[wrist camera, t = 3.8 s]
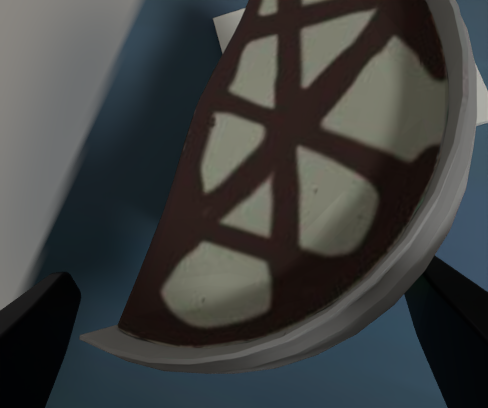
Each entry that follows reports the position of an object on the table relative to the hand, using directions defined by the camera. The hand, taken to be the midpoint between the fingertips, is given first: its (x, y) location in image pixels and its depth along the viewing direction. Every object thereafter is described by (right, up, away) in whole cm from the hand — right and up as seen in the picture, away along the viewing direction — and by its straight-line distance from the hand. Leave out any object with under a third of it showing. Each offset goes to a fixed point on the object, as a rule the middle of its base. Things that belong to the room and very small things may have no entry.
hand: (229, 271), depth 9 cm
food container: (+5, +1, +7) cm, 8 cm away
